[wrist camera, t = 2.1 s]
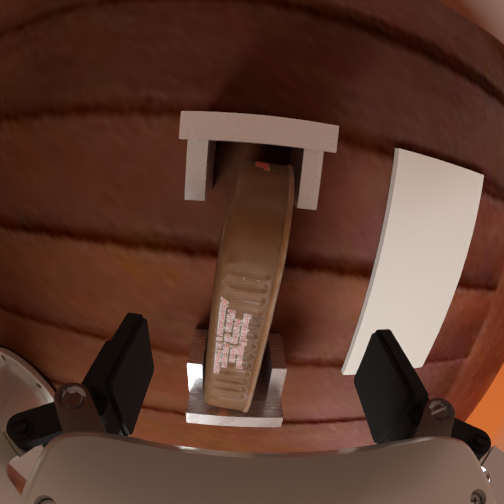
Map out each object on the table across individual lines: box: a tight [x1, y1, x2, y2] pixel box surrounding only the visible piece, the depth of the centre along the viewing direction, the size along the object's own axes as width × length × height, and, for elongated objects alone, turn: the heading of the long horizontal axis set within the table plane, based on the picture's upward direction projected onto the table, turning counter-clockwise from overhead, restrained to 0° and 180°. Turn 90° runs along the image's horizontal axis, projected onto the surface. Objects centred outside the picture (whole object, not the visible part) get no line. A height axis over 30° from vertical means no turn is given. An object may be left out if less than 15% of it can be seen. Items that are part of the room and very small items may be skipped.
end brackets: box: [179, 111, 339, 427], centre depth 17 cm, size 7×19×6 cm, turn 175°
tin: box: [204, 160, 294, 412], centre depth 16 cm, size 15×3×8 cm, turn 171°
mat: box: [341, 148, 484, 375], centre depth 20 cm, size 19×9×1 cm, turn 175°
